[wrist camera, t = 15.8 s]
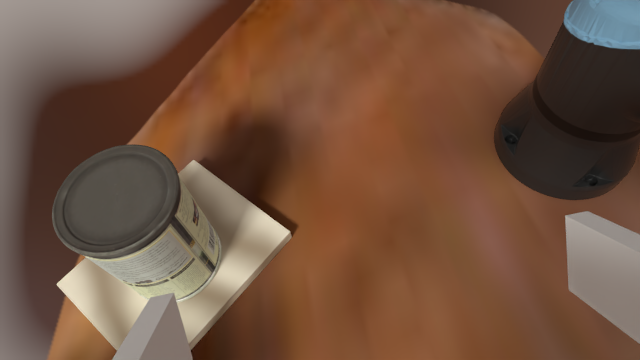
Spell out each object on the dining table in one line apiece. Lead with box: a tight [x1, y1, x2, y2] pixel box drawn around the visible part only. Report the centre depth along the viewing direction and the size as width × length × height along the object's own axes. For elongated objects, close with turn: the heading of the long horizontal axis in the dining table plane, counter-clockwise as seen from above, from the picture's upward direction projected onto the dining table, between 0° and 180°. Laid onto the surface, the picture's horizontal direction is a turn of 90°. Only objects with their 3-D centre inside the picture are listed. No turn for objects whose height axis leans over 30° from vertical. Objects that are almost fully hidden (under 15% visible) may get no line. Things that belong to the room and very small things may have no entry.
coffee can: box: [52, 145, 222, 303], centre depth 42 cm, size 10×10×14 cm
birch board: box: [57, 160, 292, 351], centre depth 49 cm, size 20×16×2 cm
